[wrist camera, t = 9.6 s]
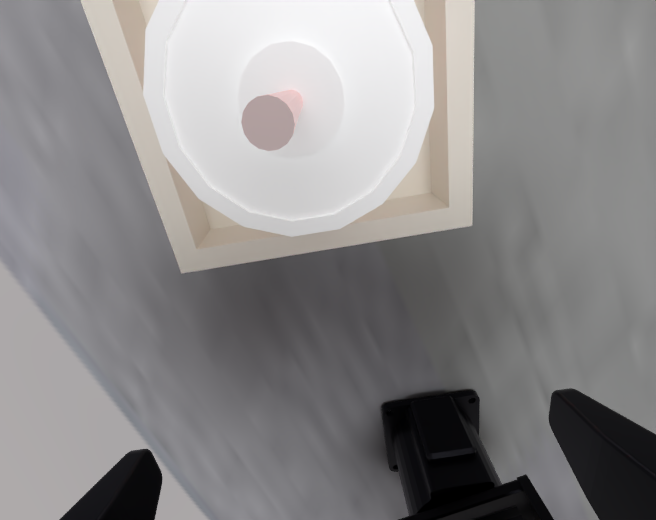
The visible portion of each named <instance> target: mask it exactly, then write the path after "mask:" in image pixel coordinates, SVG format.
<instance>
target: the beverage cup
mask: <svg viewBox="0 0 656 520" xmlns="http://www.w3.org/2000/svg"><path fill="white" fill-rule="evenodd" d="M143 96H144V99H145V102H146V105H147V108H148V111H149V114H150V117H151V120H152V123H153V126H154V129H155V132H156V135H157V138H158V141H159V143H160V146H161V149H162V152H163V154H164V156H165V157H166V158H167V159H168V161H169V162H170V163H171V165H172V166H173V167H174V168H175V170H176V171H177V172H178V173H179V175H180V176H181V177H182V179H183V180H184V181H185V182H186V184H187V185H188V186H189V187H190V189H191V190H192V191H193V192H194V194H195V195H196V196H197V198H198V199H200V200H201V201H203V202H205V203H206V204H208V205H209V206H211V207H213V208H214V209H216V210H217V211H219V212H221V213H222V214H224V215H225V216H227V217H229V218H230V219H232V220H233V221H235V222H237V223H238V224H240V225H241V226H243V227H247V228H252V229H257V230H262V231H266V232H271V233H276V234H281V235H286V236H290V237H294V236H300V235H306V234H312V233H318V232H325V231H331V230H337V229H341V228H342V227H344V226H346V225H348V224H349V223H351V222H353V221H354V220H356V219H358V218H360V217H361V216H363V215H365V214H366V213H368V212H370V211H372V210H373V209H375V208H377V207H378V206H380V205H382V204H383V203H384V202H385V201H386V199H387V198H388V197H389V196H390V194H391V193H392V192H393V191H394V189H395V188H396V187H397V186H398V184H399V183H400V182H401V181H402V179H403V178H404V177H405V176H406V175H407V173H408V172H409V171H410V170H411V168H412V167H413V166H414V165H415V163H416V161H417V158H418V155H419V152H420V149H421V146H422V143H423V140H424V137H425V134H426V131H427V128H428V125H429V122H430V119H431V116H432V114H433V111H434V80H433V45H432V43H431V40H430V38H429V36H428V33H427V31H426V28H425V26H424V24H423V21H422V19H421V16H420V14H419V12H418V9H417V7H416V4H415V2H414V0H159V1H158V3H157V6H156V8H155V10H154V12H153V14H152V16H151V19H150V21H149V23H148V25H147V27H146V29H145V57H144V86H143Z"/></svg>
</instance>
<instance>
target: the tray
mask: <svg viewBox="0 0 656 520" xmlns="http://www.w3.org/2000/svg"><path fill="white" fill-rule="evenodd" d="M158 1H159V0H81V3H82V5H83V8H84V11H85V14H86V16H87V19H88V22H89V24H90V27H91V30H92V33H93V35H94V38H95V41H96V43H97V46H98V49H99V51H100V54H101V57H102V60H103V62H104V65H105V68H106V70H107V73H108V76H109V79H110V81H111V84H112V87H113V89H114V92H115V95H116V97H117V100H118V103H119V106H120V108H121V111H122V114H123V116H124V119H125V122H126V125H127V127H128V130H129V133H130V135H131V138H132V141H133V143H134V146H135V149H136V152H137V154H138V157H139V160H140V162H141V165H142V168H143V171H144V173H145V176H146V179H147V181H148V184H149V187H150V189H151V192H152V195H153V198H154V200H155V203H156V206H157V208H158V211H159V214H160V217H161V219H162V222H163V225H164V227H165V230H166V233H167V235H168V238H169V241H170V244H171V246H172V249H173V252H174V254H175V257H176V260H177V263H178V265H179V268H180V271H181V273H188V272H194V271H200V270H206V269H212V268H218V267H224V266H230V265H237V264H243V263H249V262H255V261H261V260H267V259H273V258H279V257H285V256H291V255H297V254H303V253H310V252H316V251H322V250H328V249H334V248H340V247H346V246H352V245H358V244H364V243H370V242H376V241H382V240H389V239H395V238H401V237H407V236H413V235H419V234H425V233H431V232H437V231H443V230H449V229H455V228H462V227H468V226H472V217H473V108H474V0H414V2H415V4H416V7H417V9H418V12H419V14H420V16H421V19H422V21H423V24H424V26H425V28H426V31H427V33H428V36H429V38H430V40H431V43H432V45H433V80H434V111H433V114H432V116H431V119H430V122H429V125H428V128H427V131H426V134H425V137H424V140H423V143H422V146H421V149H420V152H419V155H418V158H417V161H416V163H415V165H414V166H413V167H412V168H411V170H410V171H409V172H408V173H407V175H406V176H405V177H404V178H403V179H402V181H401V182H400V183H399V184H398V186H397V187H396V188H395V189H394V191H393V192H392V193H391V194H390V196H389V197H388V198H387V199H386V201H385V202H384V203H383V204H382V205H380V206H378V207H377V208H375V209H373V210H372V211H370V212H368V213H366V214H365V215H363V216H361V217H360V218H358V219H356V220H354V221H353V222H351V223H349V224H348V225H346V226H344V227H342V228H341V229H337V230H331V231H325V232H318V233H312V234H306V235H300V236H294V237H290V236H286V235H281V234H276V233H271V232H266V231H262V230H257V229H252V228H247V227H243V226H241V225H240V224H238V223H237V222H235V221H233V220H232V219H230V218H229V217H227V216H225V215H224V214H222V213H221V212H219V211H217V210H216V209H214V208H213V207H211V206H209V205H208V204H206V203H205V202H203V201H201V200H200V199H198V198H197V196H196V195H195V194H194V192H193V191H192V190H191V189H190V187H189V186H188V185H187V184H186V182H185V181H184V180H183V179H182V177H181V176H180V175H179V173H178V172H177V171H176V170H175V168H174V167H173V166H172V165H171V163H170V162H169V161H168V159H167V158H166V157H165V156H164V154H163V152H162V149H161V146H160V143H159V141H158V138H157V135H156V132H155V129H154V126H153V123H152V120H151V117H150V114H149V111H148V108H147V105H146V102H145V99H144V96H143V86H144V57H145V29H146V27H147V25H148V23H149V21H150V19H151V16H152V14H153V12H154V10H155V8H156V6H157V3H158Z"/></svg>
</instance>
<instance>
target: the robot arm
mask: <svg viewBox="0 0 656 520" xmlns="http://www.w3.org/2000/svg"><path fill="white" fill-rule="evenodd" d="M470 398H471V399H470ZM479 401H480V399H479V397H478V395H477V393H476V392H475V391H464V392H457V393H451V394H444V395H438V396H431V397H425V398H418V399H412V400H405V401H399V402H392V403H387V404H385V405H383V406H382V409H381V410H382V418H383V425H384V433H385V440H386V448H387V456H388V463H389V468H390V470H391V471H394V472H398V471H399V474H400V479H401V483H402V487H403V491H404V496H405V500H406V504H407V509H408V513H409V516H408V517H405V518H402V519H399V520H554V519H553V518H552V516H551V514H550V513H549V511H548V509H547V508H546V506H545V504H544V503H543V501H542V499H541V498H540V496H539V495H538V493H537V491H536V490H535V488H534V486H533V485H532V483H531V481H530V480H529V478H528V476H527V475H523V476H520V477H517V480H514V481H511V482H508V483H506V484H503V485H502V483H501V481H500V479H499V477H498V475H497V473H496V471H495V469H494V467H493V465H492V462H491V460H490V458H489V456H488V454H487V452H486V450H485V448H484V446H483V444H482V442H481V440H480V438H479ZM389 410H391V411H389ZM549 423H550V426H551V429H552V431H553V433H554V435H555V437H556V439H557V441H558V443H559V445H560V447H561V449H562V451H563V453H564V455H565V457H566V459H567V461H568V463H569V464H570V466H571V468H572V470H573V472H574V474H575V476H576V478H577V480H578V482H579V484H580V486H581V488H582V490H583V492H584V494H585V495H586V497H587V499H588V501H589V503H590V504H591V506H592V508H593V509H594V511H595V513H596V514H597V516H598V518H599V519H600V520H656V434H654V433H652V432H651V431H649V430H647V429H645V428H643V427H642V426H640V425H638V424H636V423H634V422H633V421H631V420H629V419H627V418H626V417H624V416H622V415H620V414H618V413H617V412H615V411H613V410H611V409H610V408H608V407H606V406H604V405H602V404H601V403H599V402H597V401H595V400H594V399H592V398H590V397H588V396H586V395H585V394H583V393H581V392H579V391H577V390H575V389H563V390H556V391H554V392H553V393H552V396H551V403H550V411H549ZM161 485H162V473H161V471H160V468H159V466H158V464H157V462H156V460H155V458H154V456H153V454H152V452H151V451H150V450H148V449H141V450H134V451H130V452H129V453H127V454H126V455H125V456H124V457H123V458H122V459H121V460H120V461H119V462H118V463H117V464H116V465H115V466H114V467H113V468H112V469H111V470H110V471H109V472H108V473H107V474H106V475H104V477H102V479H100V480H99V481H98V482H97V483H96V484H95V485H94V486H93V487H92V488H91V489H90V490H89V491H88V492H87V493H86V494H85V495H84V496H83V497H82V498H81V499H80V500H79V501H78V502H77V503H76V504H75V505H74V506H73V507H72V508H71V509H70V510H69V511H68V512H67V513H66V514H65V515H64V516H63V517H62V518H61V519H60V520H154V519H155V515H156V510H157V505H158V500H159V495H160V490H161Z"/></svg>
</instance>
